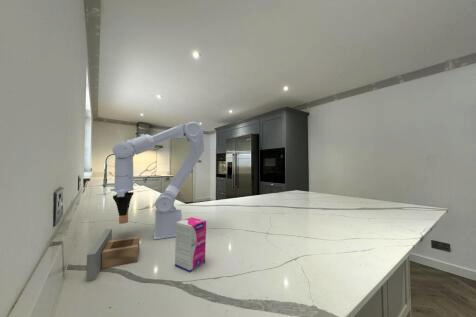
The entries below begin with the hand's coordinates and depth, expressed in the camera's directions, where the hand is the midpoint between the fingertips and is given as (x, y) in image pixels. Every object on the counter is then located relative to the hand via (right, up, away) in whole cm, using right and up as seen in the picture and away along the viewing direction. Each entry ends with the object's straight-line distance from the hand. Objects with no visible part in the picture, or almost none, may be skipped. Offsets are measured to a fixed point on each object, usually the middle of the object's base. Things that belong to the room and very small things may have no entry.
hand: (123, 214), depth 67 cm
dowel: (0, -3, 0) cm, 3 cm away
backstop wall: (+4, -8, -16) cm, 18 cm away
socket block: (+8, -8, -14) cm, 18 cm away
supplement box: (+28, -8, -17) cm, 34 cm away
